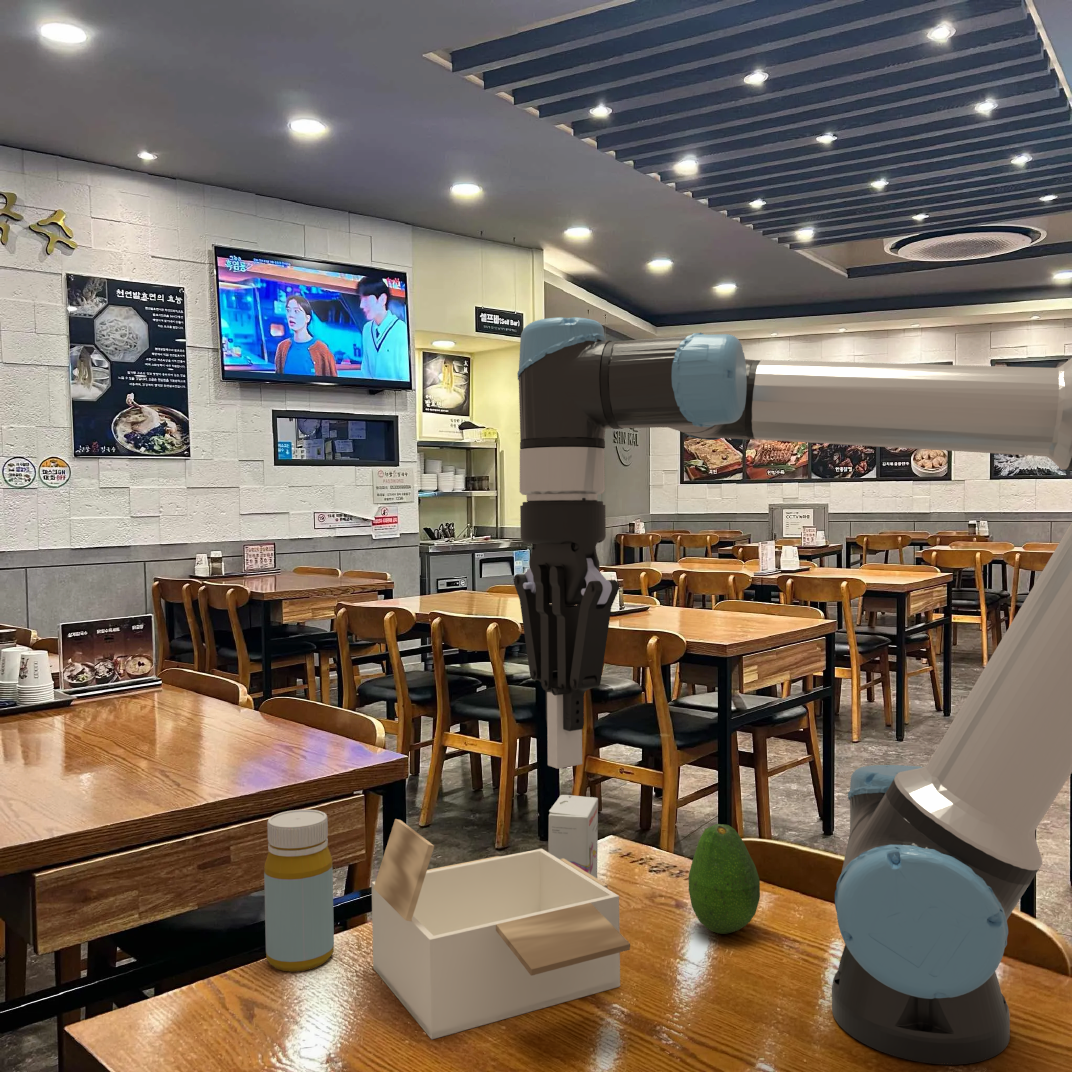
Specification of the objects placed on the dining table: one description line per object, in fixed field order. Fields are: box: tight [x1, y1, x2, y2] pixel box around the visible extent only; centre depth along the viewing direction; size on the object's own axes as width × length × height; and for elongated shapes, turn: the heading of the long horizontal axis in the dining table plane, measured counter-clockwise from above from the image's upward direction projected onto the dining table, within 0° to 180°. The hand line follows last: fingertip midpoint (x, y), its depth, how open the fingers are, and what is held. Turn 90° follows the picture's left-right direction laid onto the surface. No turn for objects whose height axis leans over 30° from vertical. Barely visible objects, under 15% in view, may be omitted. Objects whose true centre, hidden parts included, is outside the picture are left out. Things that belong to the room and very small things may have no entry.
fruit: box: [688, 823, 761, 935], centre depth 110 cm, size 8×8×12 cm
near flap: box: [496, 903, 631, 976], centre depth 89 cm, size 1×10×7 cm
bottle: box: [263, 809, 335, 973], centre depth 105 cm, size 7×7×15 cm
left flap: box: [374, 818, 435, 921], centre depth 95 cm, size 9×1×7 cm, turn 28°
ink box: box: [547, 794, 599, 879], centre depth 119 cm, size 9×5×12 cm, turn 168°
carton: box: [371, 848, 621, 1040], centre depth 101 cm, size 17×21×9 cm
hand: (565, 764), depth 88 cm, fingers closed
